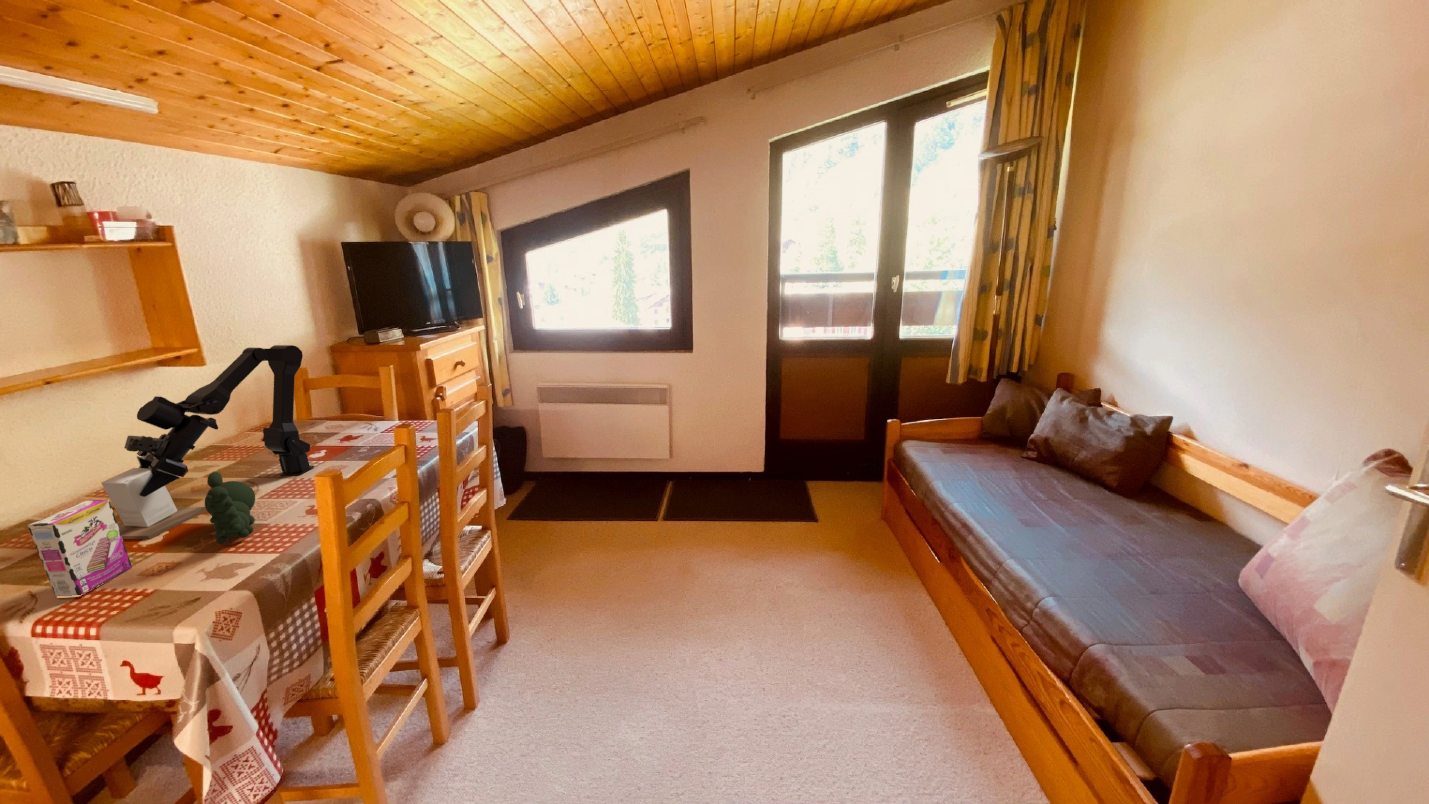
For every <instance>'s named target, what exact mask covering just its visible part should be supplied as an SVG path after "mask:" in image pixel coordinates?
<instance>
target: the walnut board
mask: <svg viewBox="0 0 1429 804" xmlns="http://www.w3.org/2000/svg"><path fill="white" fill-rule="evenodd" d="M175 507H176V506H175ZM176 508H177V512H175V513H174V514H172V515H170V516H168V517H166V518H164V519H162V520H160V521H158V522H157V523H155V524H153V525H151V526H149V527H139V526H125V525H124V523H123V522H122V521H120V522H117V524H118V527H119V531H120V533H121V536H122V538H123V539H142V541H143V539H144V540H146V539H148V540H152V539H153V538H156V537H157V536H159V535H161V534H163V533H165V532H167V531H169V530H171V529H173V528H175V527H177V526H179V525H182V524H183V523H185V522H187V521H189V520H191V519H192V518H195V517H197V516H199V515H201V514H203V513H205V512H207V510H206V508H205V506H189V507H188V506H184V507H183V506H182V507H181V506H180V507H179V506H178V507H176ZM172 527H173V528H172ZM166 530H167V531H166Z"/></svg>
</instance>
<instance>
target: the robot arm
mask: <svg viewBox="0 0 1429 804" xmlns="http://www.w3.org/2000/svg"><path fill="white" fill-rule="evenodd" d="M241 352H242V353H241V354H240V355H239V356H237V358H236V359H234V361H232V362H231V364H230V365H229V366H227V368H225V369H224V370H223V371H222V372H221V373H220V374H219V375H218V376H217V377H216V378H215V379H214V380H213V381H212V382H210V383H209V384H205V385H204V386H201V387H199V388H198V389H197V390H196V389H195V391H193V392H191V394H189V395H187V397H186V398H185V399H184V400H181V401H178V402H177V403H175V402H174V401H173V402H172V401H171V400H169V399H167V398H166V397H163V396H160V395H159V396H154V397H153V398H152V399H151V400H149V401H148V402H146V403H145V404H144V405H143V406H141V407H140V408H139V409H138V411H137V413H136V419H137V420H138V421H139V422H140V421H141V422H143V423H146V424H148V425H151V426H154V427H156V428H160V429H161V430H162V429H163V431H165V430H169V431H168V433H162V434H161V435H160V436H159V437H152V436H150V435H149V436H145V435H141V436H140V435H127V437H126V441H125V444H124V449H126V451H128V452H135V453H136V452H137V453H136V455H137V456H136V459H137V461H138V463H139V467H138V468H145V469H149V470H150V472H151V475H150V477H149V479H148V480H147V482H146V484H145V486H144V487H143V489H142V491H141V493H140V496H143V497H146V496H147V495H149V494H151V493H153V492H154V491H156V490H158V489H160V488H161V487H163V486H165V487H166V486H167V485H168V484H171V483H173V482H174V481H176V480H179V479H181V478H184V477H185V476H186V474H188V472H189V469H188V465H186V464H185V463H184V461H185V460H184V459H183V458H184V457H185V456H186V455H187V454H188V452H189V451H190V450H191V451H194V449H195V448H196V445H195V444H196V442H197V441H198V440H199V439H200V438H201V437H202V435H203V434H204V433H205V432H206V430H207V429H208V428H211V429H213V430H216V431H217V430H219V426H218V423H217V419H216V418H214V417H207V418H206V417H203V416H201V415H207V416H208V415H209V416H212V415H218V414H220V413H222V412H223V411H224V410H225V408H226V406H227V405H228V404H229V402H230V401H231V395H232V393H233V392H234V390H235V389H237V388H238V386H239V385H240V384H242V382H243V381H244V380H245V379H246V378H247V377H248V376H250V374H251V373H252V372H253V371H254V370H255V369H256V368H257V367H258V366H259V365H260V364H261V363H262V362H265V361H267V364H268V366H269V368H270V370H271V372H272V373H273V394H272V395H273V397H272V398H273V399H272V401H273V403H272V422H271V424H270V425H269V427H263V430H262V433H263V434H262V435H263V438H262V440H261V441H262V442H264V447H265V448H266V449H268V450H269V451H271V452H272V453H273V455H275V456H278V458H279V459H278V461H279V466H280V470H281V473H279V474H278V475H279V476H301V475H302V474H304V473H306V472H308V471H310V470H312V469H314V468H315V465H311V464H310V463H309V457H308V454H307V453H309V452H310V450H311V444H310V443H308V442H306V441H305V440H304V441H303V440H302V439H301V438H300V433H299V432H300V431H299V429H298V428H297V426H296V424H295V423H294V422H295V421H294V412H295V411H294V409H295V407H294V406H295V405H294V404H295V403H294V402H295V379H296V378H295V376H296V374H297V372H298V371H299V369H300V367H301V366H302V361H303V358H304V357H303V351H302V350H301V349H300V347H298V346H296V345H294V344H293V345H291V344H290V345H289V344H288V345H287V344H275V345H273V346H271V347H269V348H264V347H246V348H245V349H242V351H241ZM186 413H191V415H188V414H186Z"/></svg>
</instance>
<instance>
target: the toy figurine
mask: <svg viewBox="0 0 1429 804" xmlns="http://www.w3.org/2000/svg"><path fill="white" fill-rule="evenodd" d="M223 481H224V480H223V476H222V474H221V473H220V472H218V471H213V472H211V473H210V474H208V476H207V485H208V486H209V488H210V489H209V490H208V491H207V493H206V496H205V498H204V507H205V508H206V510H207V511H206V512H207V513H208V514H209V515H210V516H211V518H210V520H209V522H210V523H211V524H213V526H214V531H215V532H214V533H215V541H216V543H217V544H221V545H222V544H226V543H227V542H228V540H229V539H232V538H235V537H239V538H240V539H245V538H247V537H248V536H249V535H250V534H251V533H253V532H254V527H253V526H252V525H253V524H254V523H255V521H256V520H255V517H254V516H253V515H251V511H252V509H253V507H254V506H255V502H256V494H255V491H254V489H253V487H251V486H250V485H248V484H246V483H244V482H242V481H237V480H228V481H224V482H223Z"/></svg>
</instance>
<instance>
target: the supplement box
mask: <svg viewBox="0 0 1429 804" xmlns="http://www.w3.org/2000/svg"><path fill="white" fill-rule="evenodd" d="M150 475H151V472H150V470H149V469H145V468H139V467H132V468H131V469H127V470H125V471H124V472H121V473H119V474H116V475H115V476H112V477H111V478H108V479H106V480H103V481H101V485H102V488H103V489H104V490H105V492H106V495H107V496H108V498H109V501H110V503H112V505H113V507H114V508H115V510H116V513H117V514H118V517H119V518H120V519H121V522H123V523H124V525H125V526H139V527H149V526H151V525H153V524H155V523H157V522H158V521H160V520H162V519H164V518H166V517H168V516H170V515H172V514H174V513H175V512H177V508H176V505H175V503H174V501H173V498H172V497H171V495H170V493H169V491H168V489H167V487H166V485H165V486H163V487H161V488H160V489H158V490H156V491H154V492H153V493H151V494H149V495H147V496H146V497H143V496H140V493H141V491H142V489H143V487H144V486H145V484H146V482H147V480H148V479H149V477H150Z"/></svg>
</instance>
